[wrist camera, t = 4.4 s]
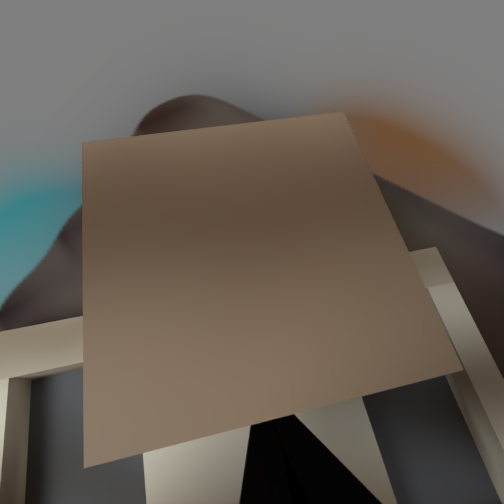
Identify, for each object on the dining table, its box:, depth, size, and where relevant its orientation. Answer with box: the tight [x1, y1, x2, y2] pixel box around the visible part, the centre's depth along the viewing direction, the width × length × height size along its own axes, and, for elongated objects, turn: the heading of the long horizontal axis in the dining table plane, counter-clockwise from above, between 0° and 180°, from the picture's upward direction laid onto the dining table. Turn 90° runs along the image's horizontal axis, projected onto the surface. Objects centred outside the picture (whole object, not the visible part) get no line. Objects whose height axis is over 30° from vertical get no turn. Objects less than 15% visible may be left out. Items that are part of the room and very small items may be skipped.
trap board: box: [0, 247, 504, 504], centre depth 13 cm, size 24×22×4 cm
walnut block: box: [82, 112, 464, 468], centre depth 10 cm, size 6×6×9 cm
